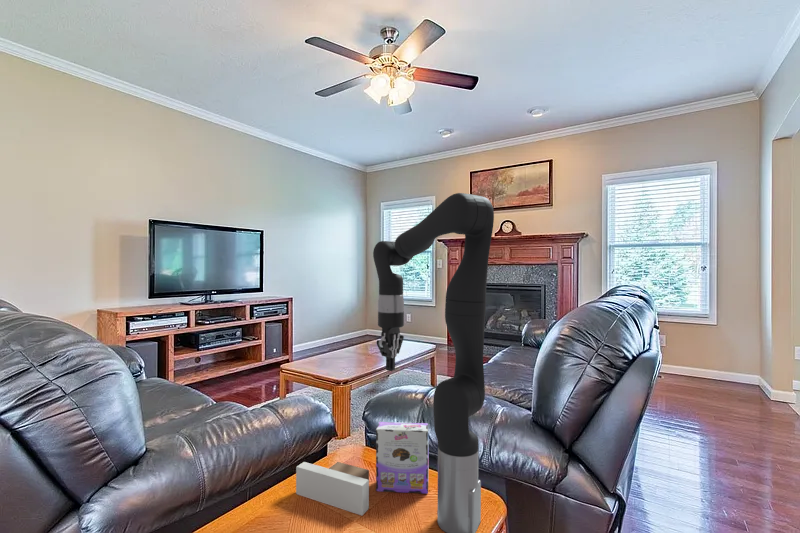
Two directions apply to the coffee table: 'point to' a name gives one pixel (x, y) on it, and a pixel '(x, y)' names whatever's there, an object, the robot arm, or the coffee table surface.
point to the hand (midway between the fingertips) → (390, 370)
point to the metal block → (351, 470)
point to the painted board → (333, 487)
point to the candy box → (402, 457)
